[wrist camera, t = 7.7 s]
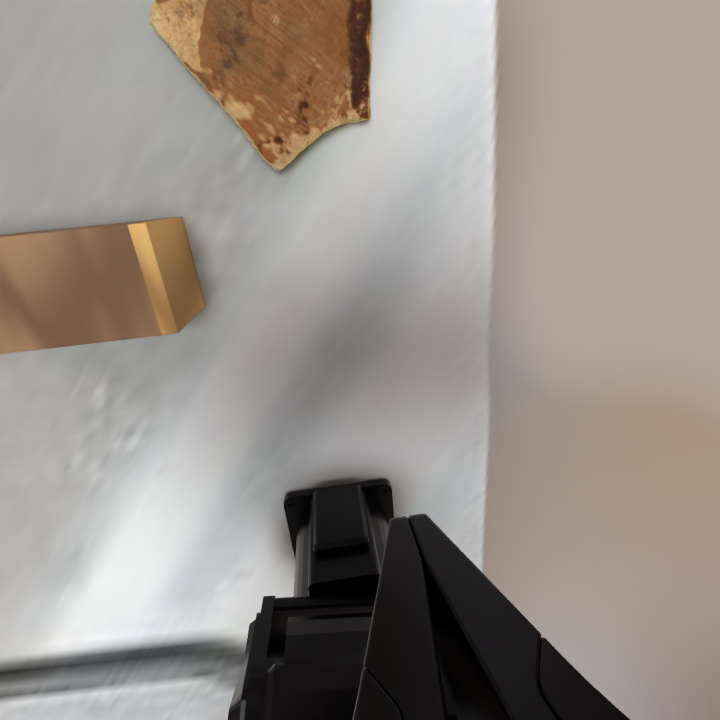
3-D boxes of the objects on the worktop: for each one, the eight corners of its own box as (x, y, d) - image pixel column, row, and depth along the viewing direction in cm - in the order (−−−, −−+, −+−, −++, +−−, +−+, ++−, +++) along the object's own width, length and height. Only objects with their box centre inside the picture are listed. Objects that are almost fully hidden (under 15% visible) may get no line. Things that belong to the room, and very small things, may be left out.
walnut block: (178, 333, 15) (-72, 362, 14) (205, 305, 18) (7, 328, 18) (145, 223, 13) (-138, 251, 13) (182, 216, 17) (-36, 238, 16)
